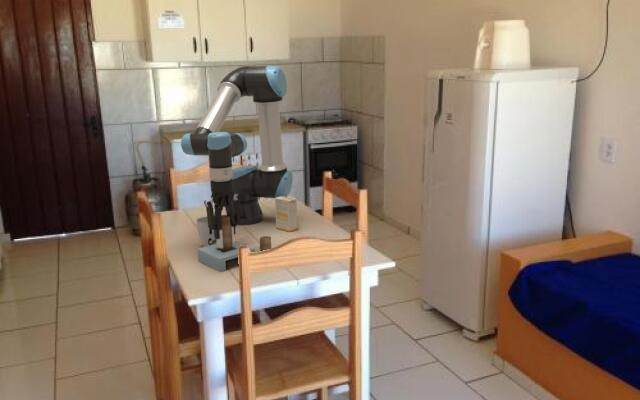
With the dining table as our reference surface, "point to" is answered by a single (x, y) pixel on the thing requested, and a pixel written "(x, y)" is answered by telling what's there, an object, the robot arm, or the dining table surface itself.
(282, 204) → the supplement box
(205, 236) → the cup
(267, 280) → the dining table surface
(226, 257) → the square hole board
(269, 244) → the short pin
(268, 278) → the dining table surface
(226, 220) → the long pin
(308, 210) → the dining table surface
